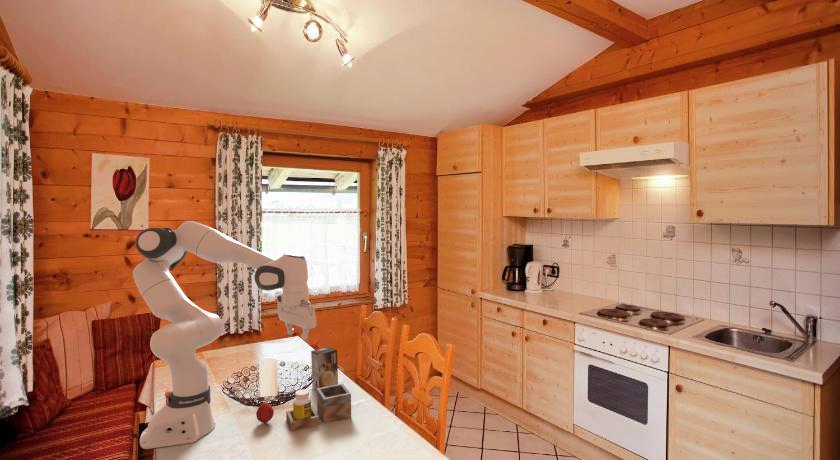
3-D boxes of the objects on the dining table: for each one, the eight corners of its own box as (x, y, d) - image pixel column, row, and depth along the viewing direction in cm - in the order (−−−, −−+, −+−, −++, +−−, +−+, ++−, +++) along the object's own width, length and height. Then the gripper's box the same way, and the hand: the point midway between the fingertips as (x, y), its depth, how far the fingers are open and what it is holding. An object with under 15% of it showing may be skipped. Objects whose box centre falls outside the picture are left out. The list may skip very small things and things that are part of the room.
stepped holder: (291, 431, 152) (291, 406, 151) (286, 418, 160) (285, 394, 160) (351, 417, 161) (350, 393, 161) (342, 406, 170) (342, 383, 170)
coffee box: (330, 381, 193) (330, 345, 191) (338, 386, 188) (337, 349, 187) (311, 387, 187) (310, 350, 185) (318, 392, 182) (318, 354, 181)
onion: (257, 429, 153) (257, 406, 153) (255, 421, 158) (254, 400, 158) (275, 425, 156) (274, 403, 155) (272, 417, 161) (271, 396, 160)
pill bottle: (306, 427, 155) (306, 396, 154) (290, 425, 156) (289, 395, 155) (314, 418, 161) (313, 389, 160) (298, 416, 162) (298, 387, 161)
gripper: (320, 301, 153) (321, 340, 154) (289, 293, 167) (290, 329, 168) (304, 304, 148) (305, 344, 149) (273, 296, 162) (275, 333, 163)
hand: (297, 336), depth 159 cm, fingers open, 8 cm apart
